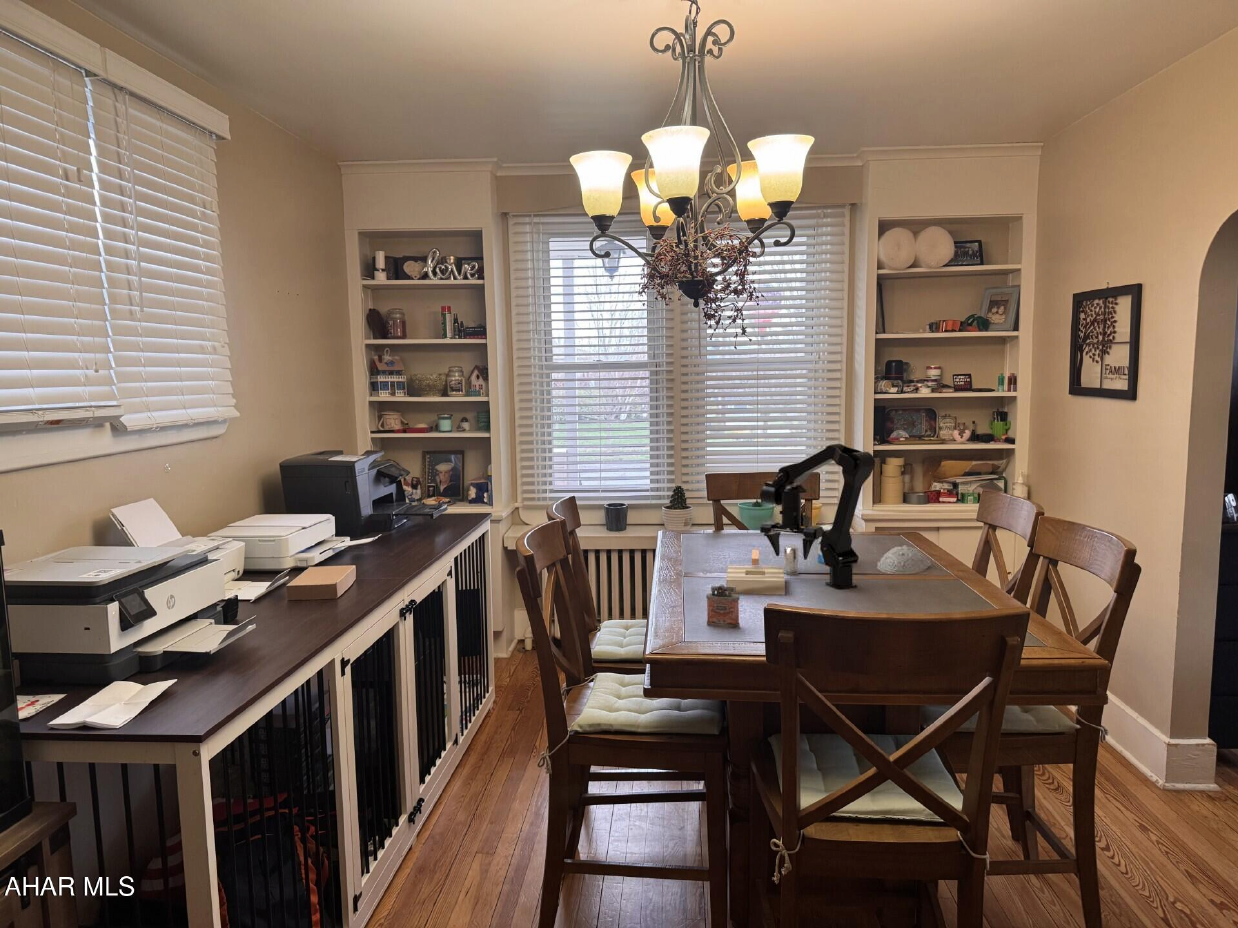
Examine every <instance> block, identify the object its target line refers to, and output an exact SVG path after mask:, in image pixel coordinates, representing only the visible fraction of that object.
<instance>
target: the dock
mask: <svg viewBox="0 0 1238 928" xmlns="http://www.w3.org/2000/svg"><path fill="white" fill-rule="evenodd" d="M726 571H727V572H726V578H725V584H726V585H725V587H726V586H734V587H736V592H731V595H738V594H739V595H740V594H741V595H779V594H786V591H785V590H786V587H785V586H786V581H785V570H784V567H783V566H770V565H769V566H764V565H763V566H759V565H728V567H727V570H726ZM726 593H727V594H728V592H726Z"/></svg>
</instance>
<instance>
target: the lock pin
mask: <svg viewBox="0 0 1238 928" xmlns="http://www.w3.org/2000/svg"><path fill="white" fill-rule="evenodd" d="M759 551H760V550H759V549H752V550H751V566H759V565H760V561H759V560H760V555H759V554H760V553H759Z"/></svg>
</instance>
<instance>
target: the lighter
mask: <svg viewBox="0 0 1238 928" xmlns="http://www.w3.org/2000/svg"><path fill="white" fill-rule="evenodd" d="M710 591H711V593H707V594H706V595H705V596H706V607H707V608H706V610H707V611H706V612H707V613H706V616H707V620H706V626H708V627H711V628H712V627H713V628H719V629H721V628H722V629H739V628H740V624H741V623H740V622H739V621H740V615H739V614H740V610H739V608H740V607H739V604H740V603H739V601H740V596H739V595H738V594H731V592H736V587H734V586H726V585H725V584H719V585H711V586H710ZM726 592H728V594H727V593H726Z"/></svg>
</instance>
